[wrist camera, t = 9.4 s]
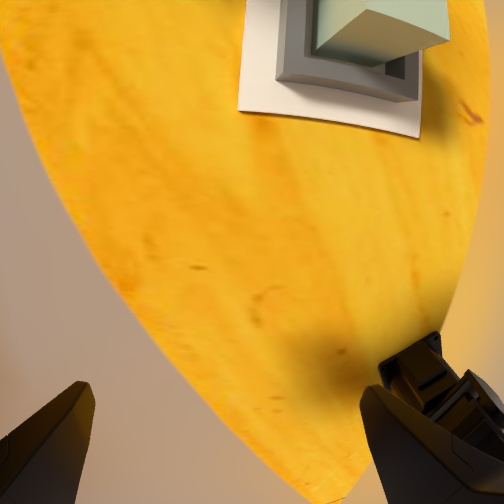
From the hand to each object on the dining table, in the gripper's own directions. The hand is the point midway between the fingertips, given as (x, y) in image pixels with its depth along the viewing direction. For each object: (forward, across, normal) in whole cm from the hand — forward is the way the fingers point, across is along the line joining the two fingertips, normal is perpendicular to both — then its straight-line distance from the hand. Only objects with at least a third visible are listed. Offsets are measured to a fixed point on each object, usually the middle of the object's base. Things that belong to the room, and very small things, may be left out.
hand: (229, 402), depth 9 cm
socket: (+12, -6, -15) cm, 20 cm away
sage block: (+12, -6, -15) cm, 20 cm away
